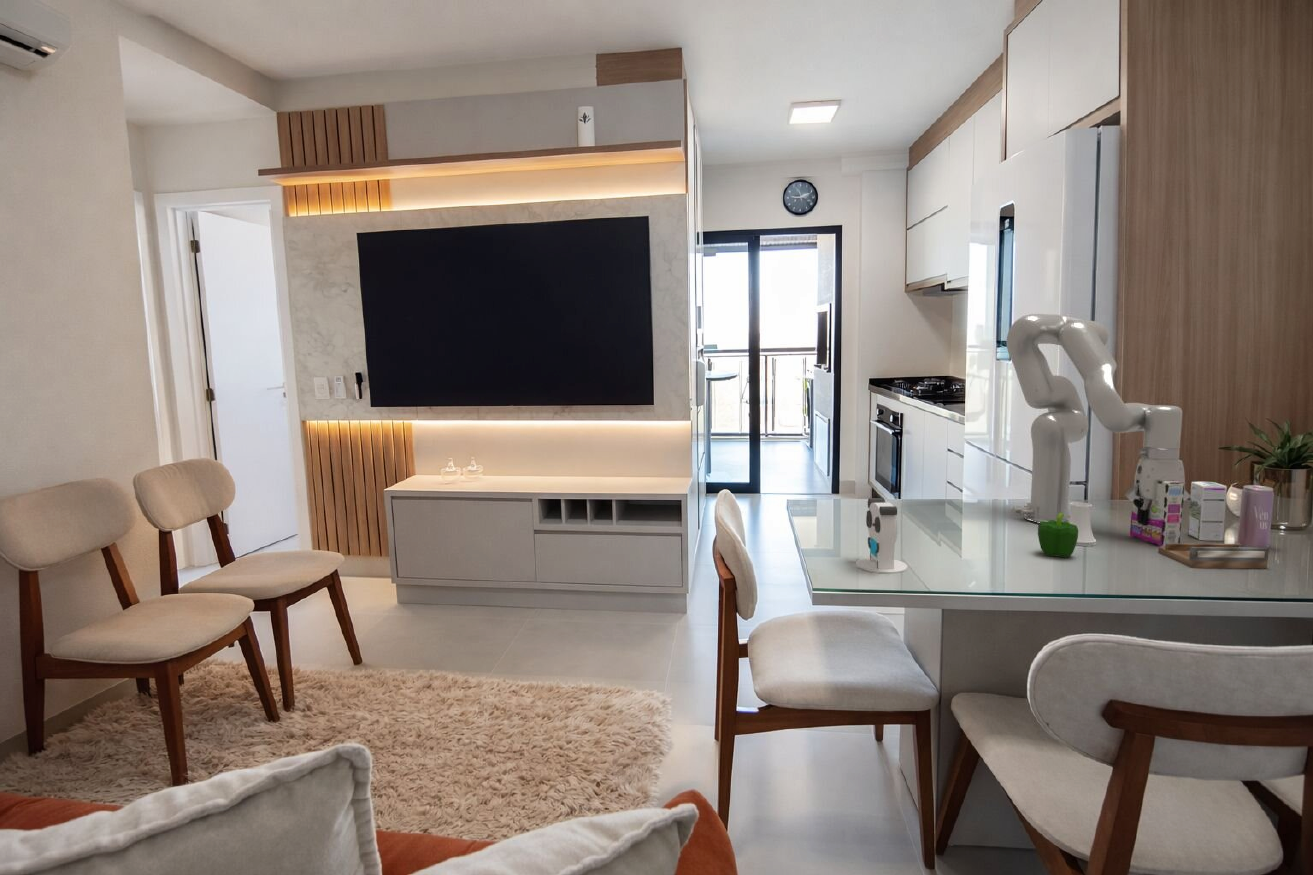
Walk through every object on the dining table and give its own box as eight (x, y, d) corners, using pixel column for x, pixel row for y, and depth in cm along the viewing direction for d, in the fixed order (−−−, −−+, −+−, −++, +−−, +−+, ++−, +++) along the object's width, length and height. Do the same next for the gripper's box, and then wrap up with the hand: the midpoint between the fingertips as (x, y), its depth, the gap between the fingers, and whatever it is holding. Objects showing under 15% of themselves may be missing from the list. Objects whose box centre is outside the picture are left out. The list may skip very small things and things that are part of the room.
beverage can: (1261, 544, 176) (1267, 485, 174) (1273, 550, 170) (1279, 490, 168) (1232, 542, 178) (1238, 484, 176) (1243, 548, 172) (1249, 489, 170)
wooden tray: (1192, 567, 158) (1194, 548, 157) (1158, 552, 170) (1159, 534, 170) (1268, 568, 157) (1269, 549, 156) (1227, 553, 169) (1229, 534, 168)
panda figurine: (850, 557, 169) (851, 496, 167) (897, 557, 168) (899, 496, 167) (863, 573, 157) (864, 508, 155) (914, 573, 156) (916, 507, 155)
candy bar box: (1181, 547, 174) (1186, 482, 172) (1162, 547, 174) (1167, 482, 172) (1146, 535, 185) (1150, 474, 183) (1128, 536, 185) (1132, 475, 183)
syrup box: (1224, 541, 179) (1229, 485, 177) (1198, 540, 180) (1202, 485, 178) (1211, 535, 185) (1216, 481, 183) (1186, 534, 186) (1190, 481, 184)
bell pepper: (1062, 562, 164) (1065, 520, 162) (1030, 553, 171) (1032, 513, 170) (1084, 556, 167) (1087, 515, 166) (1051, 548, 175) (1054, 509, 173)
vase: (1093, 540, 182) (1096, 502, 181) (1097, 547, 175) (1100, 508, 174) (1060, 537, 185) (1062, 500, 184) (1063, 544, 178) (1065, 505, 177)
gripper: (1133, 456, 174) (1128, 527, 176) (1206, 456, 173) (1200, 528, 175) (1116, 452, 181) (1111, 520, 183) (1186, 452, 180) (1180, 521, 182)
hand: (1155, 523), depth 179 cm, fingers closed on candy bar box, 5 cm apart
